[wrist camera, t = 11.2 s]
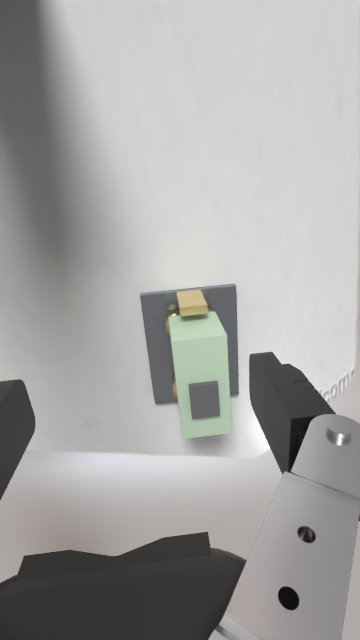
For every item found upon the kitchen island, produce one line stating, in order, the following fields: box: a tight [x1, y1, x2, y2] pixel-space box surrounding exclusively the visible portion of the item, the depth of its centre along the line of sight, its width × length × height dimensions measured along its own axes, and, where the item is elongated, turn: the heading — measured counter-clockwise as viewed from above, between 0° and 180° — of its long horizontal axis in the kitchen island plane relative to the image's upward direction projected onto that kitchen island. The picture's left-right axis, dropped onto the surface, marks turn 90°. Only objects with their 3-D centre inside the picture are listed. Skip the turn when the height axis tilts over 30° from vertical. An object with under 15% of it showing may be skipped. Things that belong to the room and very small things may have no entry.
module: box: [169, 311, 232, 439], centre depth 37 cm, size 12×6×8 cm, turn 6°
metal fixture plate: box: [140, 284, 239, 403], centre depth 41 cm, size 16×12×7 cm
